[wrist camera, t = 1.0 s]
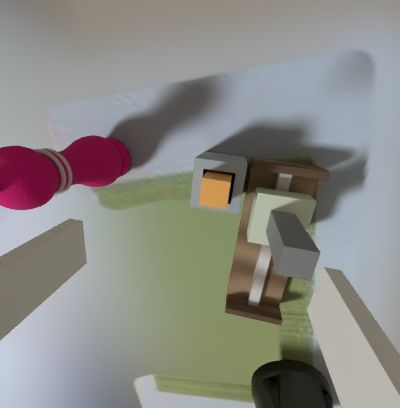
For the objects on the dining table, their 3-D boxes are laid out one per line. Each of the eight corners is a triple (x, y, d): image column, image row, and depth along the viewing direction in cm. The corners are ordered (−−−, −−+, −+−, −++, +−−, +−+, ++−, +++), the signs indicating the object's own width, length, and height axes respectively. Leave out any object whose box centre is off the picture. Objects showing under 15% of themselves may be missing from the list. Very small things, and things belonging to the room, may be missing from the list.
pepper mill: (133, 137, 33) (-1, 146, 15) (134, 182, 36) (19, 239, 17) (91, 132, 34) (-86, 136, 16) (94, 177, 37) (-54, 225, 18)
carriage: (295, 240, 31) (326, 302, 20) (246, 232, 32) (250, 287, 21) (309, 194, 29) (353, 236, 17) (256, 186, 30) (265, 221, 18)
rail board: (276, 304, 39) (280, 325, 34) (226, 293, 40) (225, 312, 36) (317, 166, 30) (330, 172, 26) (252, 157, 31) (254, 161, 27)
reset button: (229, 193, 28) (226, 209, 23) (206, 190, 29) (198, 204, 23) (232, 171, 27) (230, 182, 22) (209, 168, 28) (201, 177, 22)
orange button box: (238, 195, 33) (238, 214, 26) (201, 189, 34) (190, 206, 27) (245, 156, 31) (247, 165, 24) (205, 151, 32) (194, 157, 25)
